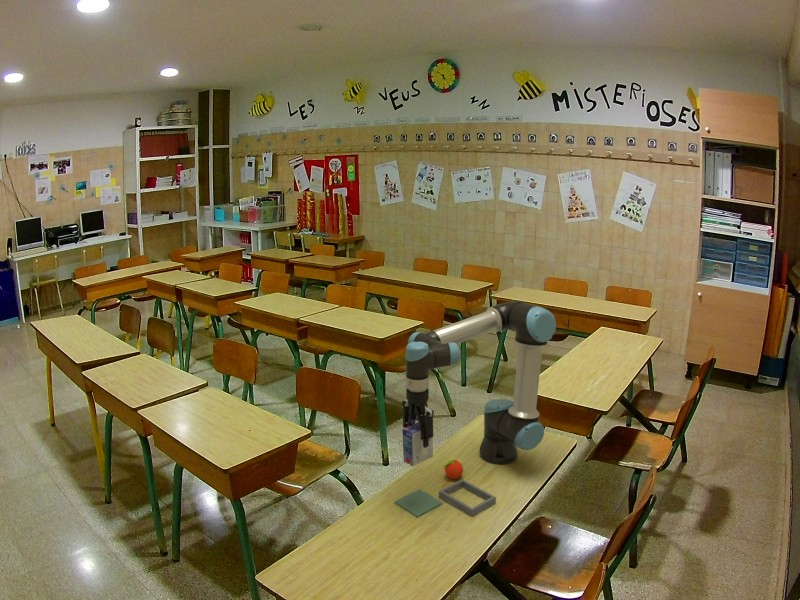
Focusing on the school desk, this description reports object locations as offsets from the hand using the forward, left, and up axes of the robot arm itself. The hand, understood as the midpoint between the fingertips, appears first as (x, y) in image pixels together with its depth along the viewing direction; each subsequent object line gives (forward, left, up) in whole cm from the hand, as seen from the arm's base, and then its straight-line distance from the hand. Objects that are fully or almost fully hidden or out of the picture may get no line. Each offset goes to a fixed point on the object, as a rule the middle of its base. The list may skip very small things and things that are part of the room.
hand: (418, 451), depth 210 cm
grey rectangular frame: (-14, +10, -20) cm, 26 cm away
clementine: (-21, -4, -20) cm, 29 cm away
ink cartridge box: (0, 0, -3) cm, 3 cm away
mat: (0, 0, -20) cm, 20 cm away
